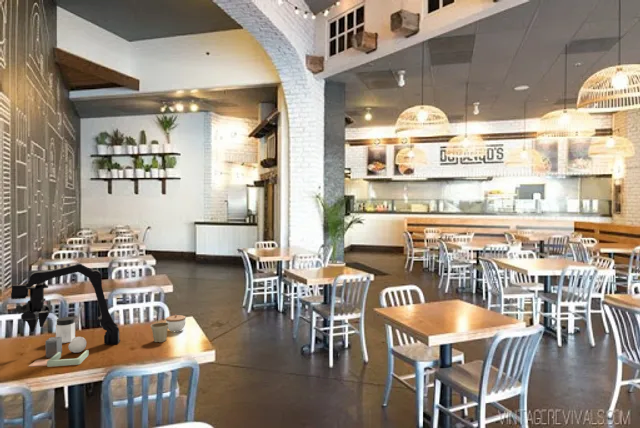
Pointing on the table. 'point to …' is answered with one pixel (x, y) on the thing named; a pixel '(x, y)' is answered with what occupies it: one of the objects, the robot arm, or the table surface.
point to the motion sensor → (77, 344)
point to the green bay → (66, 360)
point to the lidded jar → (176, 322)
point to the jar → (65, 329)
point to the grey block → (53, 346)
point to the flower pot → (159, 331)
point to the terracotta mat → (39, 363)
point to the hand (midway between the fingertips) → (37, 329)
